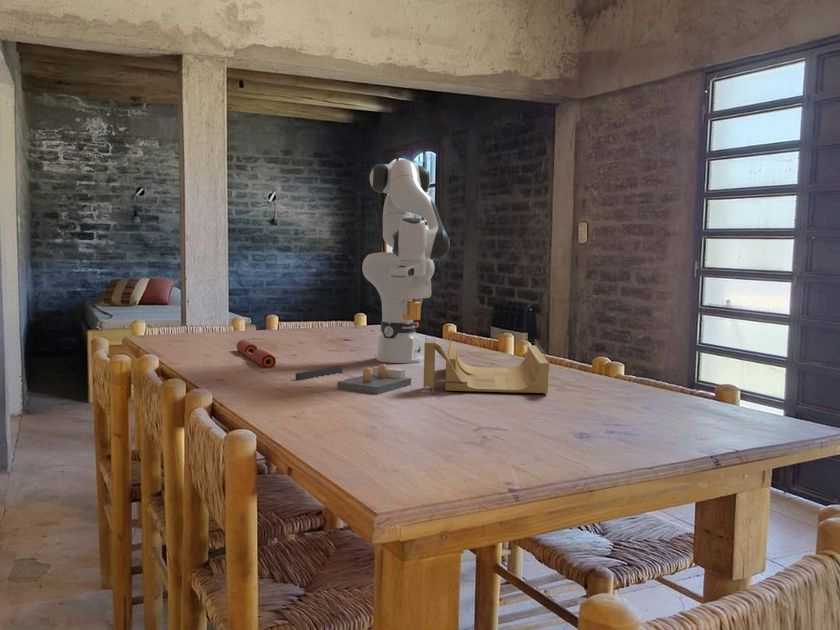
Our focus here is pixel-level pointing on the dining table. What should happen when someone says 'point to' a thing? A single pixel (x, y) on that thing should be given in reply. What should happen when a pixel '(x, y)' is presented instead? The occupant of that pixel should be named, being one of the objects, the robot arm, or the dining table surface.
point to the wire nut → (413, 311)
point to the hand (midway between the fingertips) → (410, 313)
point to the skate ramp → (488, 372)
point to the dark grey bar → (318, 373)
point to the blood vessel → (256, 354)
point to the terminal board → (376, 380)
